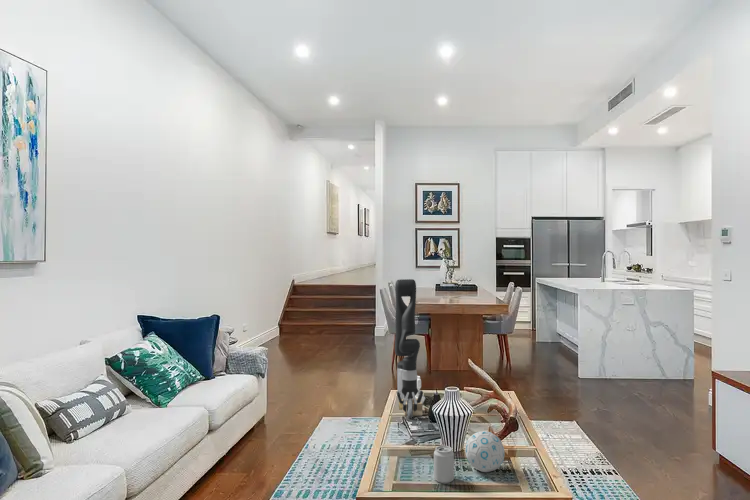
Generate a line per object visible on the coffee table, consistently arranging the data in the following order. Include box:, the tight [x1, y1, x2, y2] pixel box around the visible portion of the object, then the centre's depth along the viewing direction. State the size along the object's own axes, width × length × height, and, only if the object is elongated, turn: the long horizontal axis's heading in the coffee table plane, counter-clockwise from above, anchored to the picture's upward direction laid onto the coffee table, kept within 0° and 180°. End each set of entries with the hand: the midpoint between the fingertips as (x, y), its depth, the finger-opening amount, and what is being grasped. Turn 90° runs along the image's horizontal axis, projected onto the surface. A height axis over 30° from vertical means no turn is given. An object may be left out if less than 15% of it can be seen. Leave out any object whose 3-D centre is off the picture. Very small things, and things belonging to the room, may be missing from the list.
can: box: [433, 445, 455, 484], centre depth 197 cm, size 8×8×12 cm
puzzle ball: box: [464, 430, 505, 473], centre depth 205 cm, size 15×15×15 cm
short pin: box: [398, 399, 402, 411], centre depth 280 cm, size 3×3×5 cm
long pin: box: [406, 398, 414, 419], centre depth 266 cm, size 3×3×10 cm
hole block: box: [401, 399, 423, 417], centre depth 273 cm, size 9×9×6 cm
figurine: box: [415, 375, 426, 405], centre depth 290 cm, size 7×9×15 cm
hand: (409, 411), depth 266 cm, fingers open, 4 cm apart
